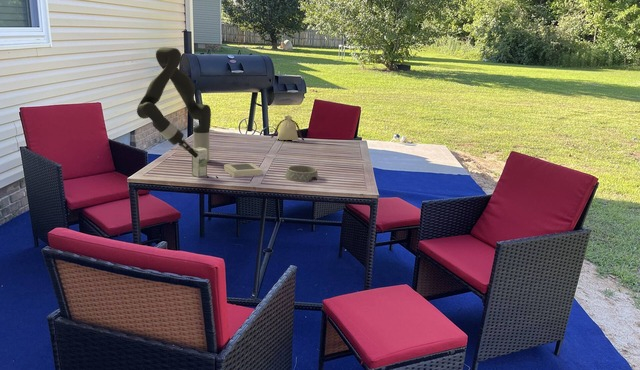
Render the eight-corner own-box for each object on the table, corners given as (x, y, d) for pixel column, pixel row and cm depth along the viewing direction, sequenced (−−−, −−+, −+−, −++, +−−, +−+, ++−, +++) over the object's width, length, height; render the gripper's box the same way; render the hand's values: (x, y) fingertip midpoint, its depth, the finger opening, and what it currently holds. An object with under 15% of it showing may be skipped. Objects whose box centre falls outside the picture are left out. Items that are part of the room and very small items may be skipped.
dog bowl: (324, 178, 268) (325, 169, 267) (301, 184, 255) (301, 174, 253) (302, 172, 279) (302, 163, 277) (278, 177, 265) (279, 167, 264)
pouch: (304, 141, 369) (305, 115, 364) (304, 143, 361) (305, 117, 356) (271, 139, 368) (271, 113, 363) (270, 141, 360) (271, 115, 355)
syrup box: (200, 173, 262) (200, 146, 258) (207, 175, 259) (207, 148, 255) (191, 175, 258) (191, 148, 254) (198, 177, 254) (198, 150, 250)
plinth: (224, 169, 273) (224, 164, 272) (251, 167, 280) (251, 162, 279) (233, 177, 259) (233, 171, 258) (261, 174, 267) (262, 169, 266)
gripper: (180, 130, 240) (203, 152, 249) (173, 125, 252) (196, 146, 261) (169, 141, 239) (193, 163, 248) (163, 136, 251) (186, 156, 259)
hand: (194, 154), depth 254 cm, fingers open, 8 cm apart
